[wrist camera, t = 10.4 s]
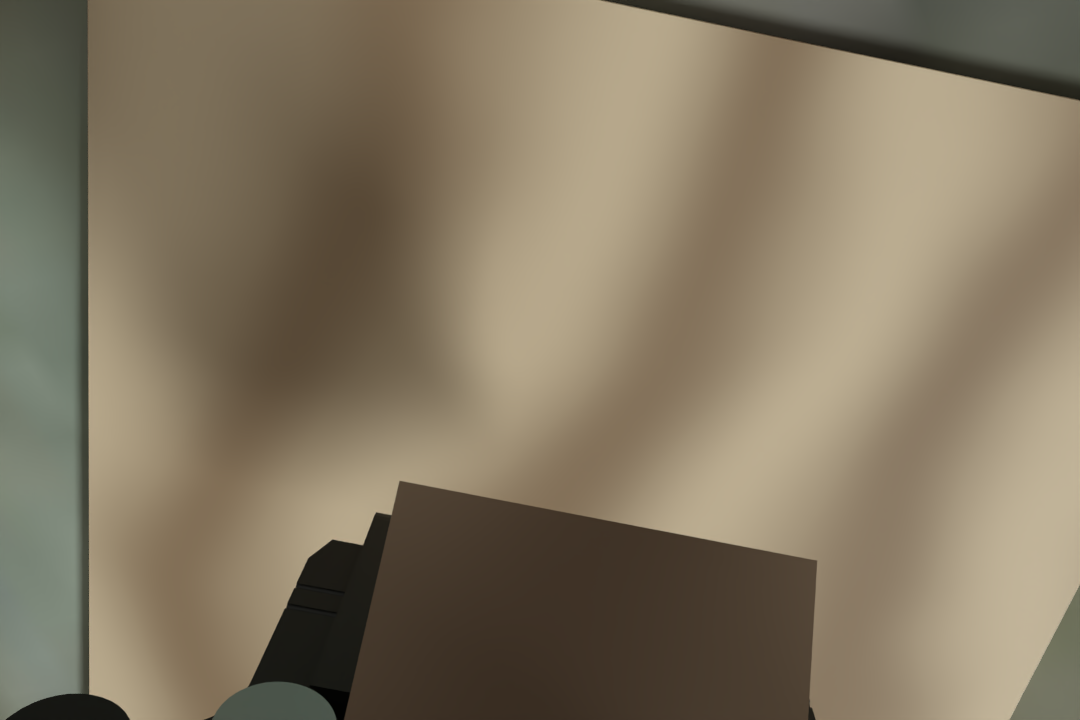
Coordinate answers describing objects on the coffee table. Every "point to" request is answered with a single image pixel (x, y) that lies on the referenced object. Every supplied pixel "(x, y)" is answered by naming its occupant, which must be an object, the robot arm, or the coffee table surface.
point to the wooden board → (576, 321)
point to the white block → (576, 620)
